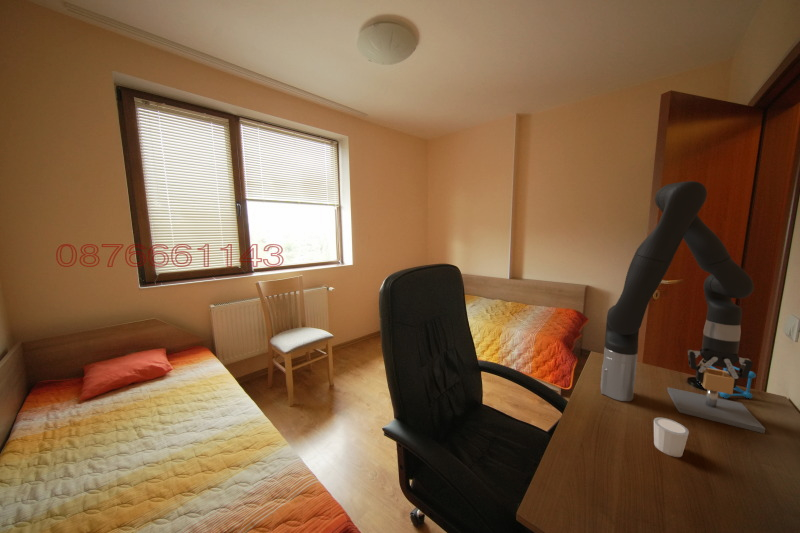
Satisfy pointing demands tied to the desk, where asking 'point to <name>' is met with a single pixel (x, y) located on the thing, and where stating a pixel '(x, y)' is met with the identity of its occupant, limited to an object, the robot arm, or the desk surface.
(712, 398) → the steel post
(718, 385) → the ochre collar
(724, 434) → the desk surface
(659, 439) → the shot glass
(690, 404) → the post board
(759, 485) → the desk surface
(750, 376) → the molecular structure
